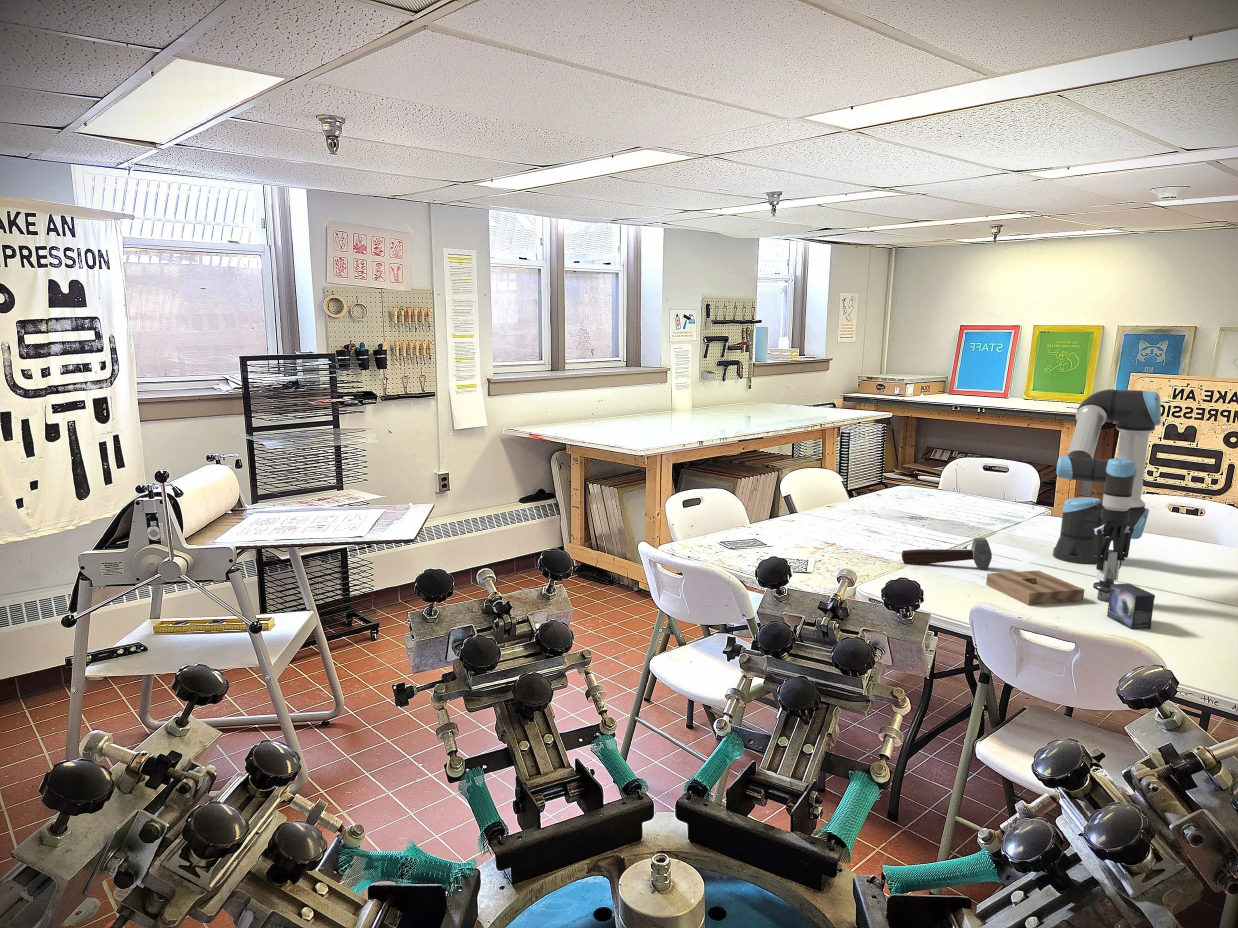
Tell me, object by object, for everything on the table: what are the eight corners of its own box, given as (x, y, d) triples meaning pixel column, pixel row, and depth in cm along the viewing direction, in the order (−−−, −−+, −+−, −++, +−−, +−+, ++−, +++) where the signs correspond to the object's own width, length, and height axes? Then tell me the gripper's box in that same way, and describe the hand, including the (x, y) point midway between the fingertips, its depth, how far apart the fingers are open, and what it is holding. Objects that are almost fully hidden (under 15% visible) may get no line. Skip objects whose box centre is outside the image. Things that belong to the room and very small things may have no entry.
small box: (1104, 616, 233) (1109, 583, 232) (1125, 615, 234) (1129, 582, 232) (1130, 629, 223) (1135, 595, 221) (1151, 629, 224) (1156, 594, 222)
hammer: (904, 574, 284) (992, 570, 277) (902, 544, 282) (990, 539, 275) (902, 570, 288) (989, 566, 281) (900, 541, 287) (987, 536, 280)
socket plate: (1037, 581, 265) (1038, 570, 265) (1083, 601, 246) (1084, 589, 245) (986, 584, 261) (987, 573, 260) (1028, 605, 242) (1029, 593, 241)
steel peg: (1105, 594, 252) (1110, 547, 249) (1122, 602, 245) (1129, 553, 242) (1086, 596, 250) (1092, 548, 248) (1104, 603, 244) (1110, 554, 241)
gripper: (1128, 504, 248) (1119, 574, 252) (1083, 506, 244) (1075, 577, 248) (1149, 509, 241) (1139, 581, 245) (1102, 511, 237) (1093, 584, 241)
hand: (1107, 579), depth 247 cm, fingers closed on steel peg, 4 cm apart
